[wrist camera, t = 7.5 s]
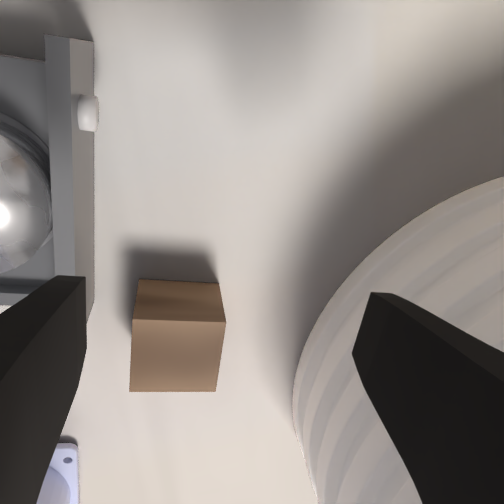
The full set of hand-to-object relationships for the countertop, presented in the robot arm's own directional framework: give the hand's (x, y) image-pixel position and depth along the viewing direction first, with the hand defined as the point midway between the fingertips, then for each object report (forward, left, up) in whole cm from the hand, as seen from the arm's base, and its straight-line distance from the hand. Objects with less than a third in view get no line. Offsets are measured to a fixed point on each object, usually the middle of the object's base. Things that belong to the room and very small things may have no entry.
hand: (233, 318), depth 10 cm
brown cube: (-7, +1, -10) cm, 12 cm away
